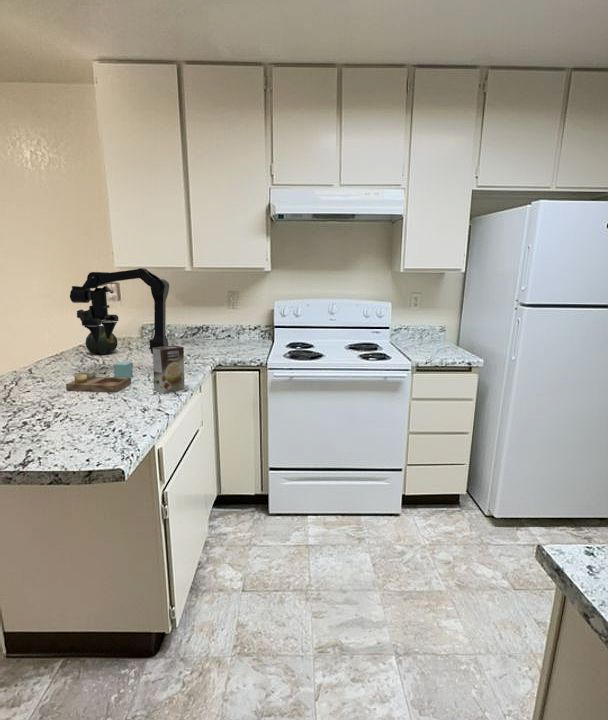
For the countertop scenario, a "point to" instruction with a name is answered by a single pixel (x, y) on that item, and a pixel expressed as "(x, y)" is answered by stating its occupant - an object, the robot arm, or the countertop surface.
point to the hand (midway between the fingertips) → (102, 340)
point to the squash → (101, 343)
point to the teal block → (123, 369)
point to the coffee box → (168, 368)
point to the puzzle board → (97, 383)
